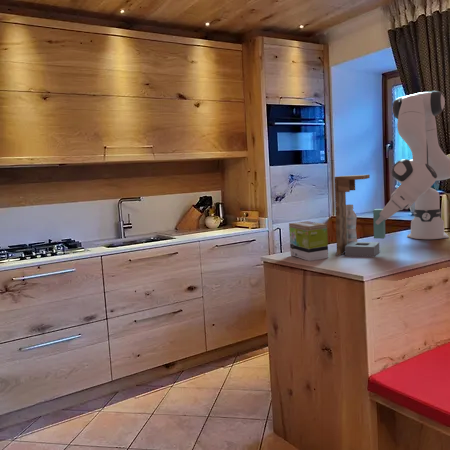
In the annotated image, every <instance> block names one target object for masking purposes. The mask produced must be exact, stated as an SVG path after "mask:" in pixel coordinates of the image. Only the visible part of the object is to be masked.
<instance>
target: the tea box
mask: <svg viewBox="0 0 450 450" xmlns="http://www.w3.org/2000/svg"><path fill="white" fill-rule="evenodd" d="M288 227H289V228H288V229H289V231H288V232H289V246H290V247H289V248H290V249H289V250H290V256H291V257H296V258H299V259H302V260H305V261H308V262H311V261H313V262H314V261H319V260H325V259H328V258H329V244H328V243H329V241H328V240H329V239H328V223H321V222H316V221H311V220H310V221H309V220H305V221H299V222H298V221H297V222H291V223H288Z"/></svg>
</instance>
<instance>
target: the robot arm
mask: <svg viewBox="0 0 450 450" xmlns="http://www.w3.org/2000/svg"><path fill="white" fill-rule="evenodd" d="M445 101H446V99H445V97H444V95H443V93H442V92H441V91H439V90H432V91H423V92H422V91H421V92H417V93H413V94H409V95H405V96H400V97H397V98H395V99H394V101H393V103H392V113H393V117H394V118H396V120H397V123H396V126H397V132H398V135H399V136H400V137H401V139H402V140H403V141H404V142H405V143H406V145H407V146H408V147H409V149H410V151H411V154H412V158H411V159H408V158H407V159H406V158H403V159H399V160H397V162H395V163H394V165H393V167H392V168H391V176H392V177H393V179H394V180H395V181H397V182H398V183H400V185H399V186H398V187H397V188H396V189H395V190H394V191H393V192H392V193H391V194H390V200H389V201H388V202H387V203H386V205H385V206H384V207H383V208H382V209H383V210H382V211H381V212H380V214H379V215H380V217H379V218H378V219H377V220H376V221H375V223H376V224H377V225H379V224H380V223H381V222H382V221H383V220H385V221H386V220H388V219H389V218H391V217H392V216H393V215H395V214H396V213H398V212H399V211H403V210H404V209H405V210H408V209H409V208H410V207H411V206H412V205H414V210H413V216H414V218H413V219H412V220H410V233H409V234H407V236H406V237H407V238H411V239H416V240H441V239H449V238H450V237H449V235H448V234H447V233H446V232H445V230H446V229H445V221H444V220H443V218H442V217H441V214H442V212H441V211H442V210H441V208H440V202H441V201H440V192H439V191H437V189H434V188H433V187H432V186H433V185H434V184H435V183H436V181H445V180H448V179H450V157H449V156H448V155H447V154H446V153H444V152H443V150H442V148H441V147H440V144H439V138H438V132H437V129H438V128H437V120H436V117H438V115H440V114H441V113H442V112H443V111H444V108H445V104H446V103H445Z"/></svg>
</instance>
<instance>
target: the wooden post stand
mask: <svg viewBox="0 0 450 450" xmlns="http://www.w3.org/2000/svg"><path fill="white" fill-rule="evenodd" d="M370 176H371V175H370V174H352V175H351V174H350V175H337V176H334V203H335V205H334V207H335V233H336V234H335V235H336V238H335V239H336V256H342V255H343V254H345V246H346V245H347V226H346V205H347V201H346V200H347V199H346V197H347V196H346V193H350V192H351V191H356V180H367V179H370Z"/></svg>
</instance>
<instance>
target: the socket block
mask: <svg viewBox="0 0 450 450" xmlns="http://www.w3.org/2000/svg"><path fill="white" fill-rule="evenodd" d="M380 251H381V250H380V242H379V241H358V242H350V243H349V244H347V245H346V246H345V252H344V256H351V257H372V256H374V257H376V255H378V254H379V253H380Z"/></svg>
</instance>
